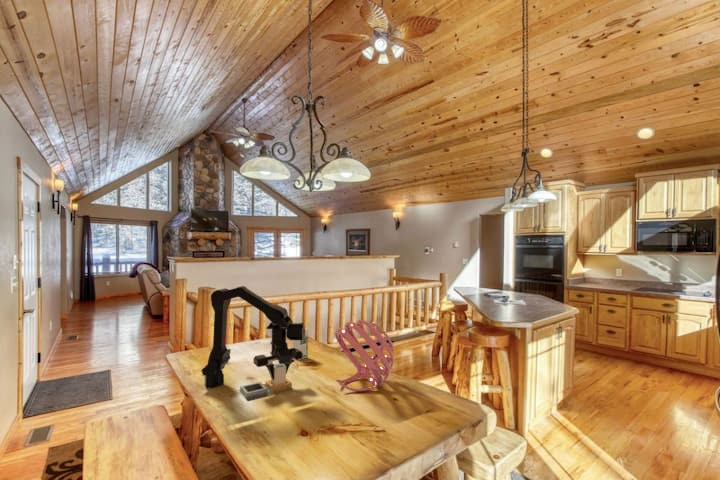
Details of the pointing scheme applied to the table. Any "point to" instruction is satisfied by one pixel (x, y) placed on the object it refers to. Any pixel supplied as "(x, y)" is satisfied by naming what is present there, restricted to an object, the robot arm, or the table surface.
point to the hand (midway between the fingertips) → (278, 378)
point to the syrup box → (301, 345)
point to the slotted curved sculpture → (370, 361)
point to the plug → (279, 374)
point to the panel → (264, 389)
